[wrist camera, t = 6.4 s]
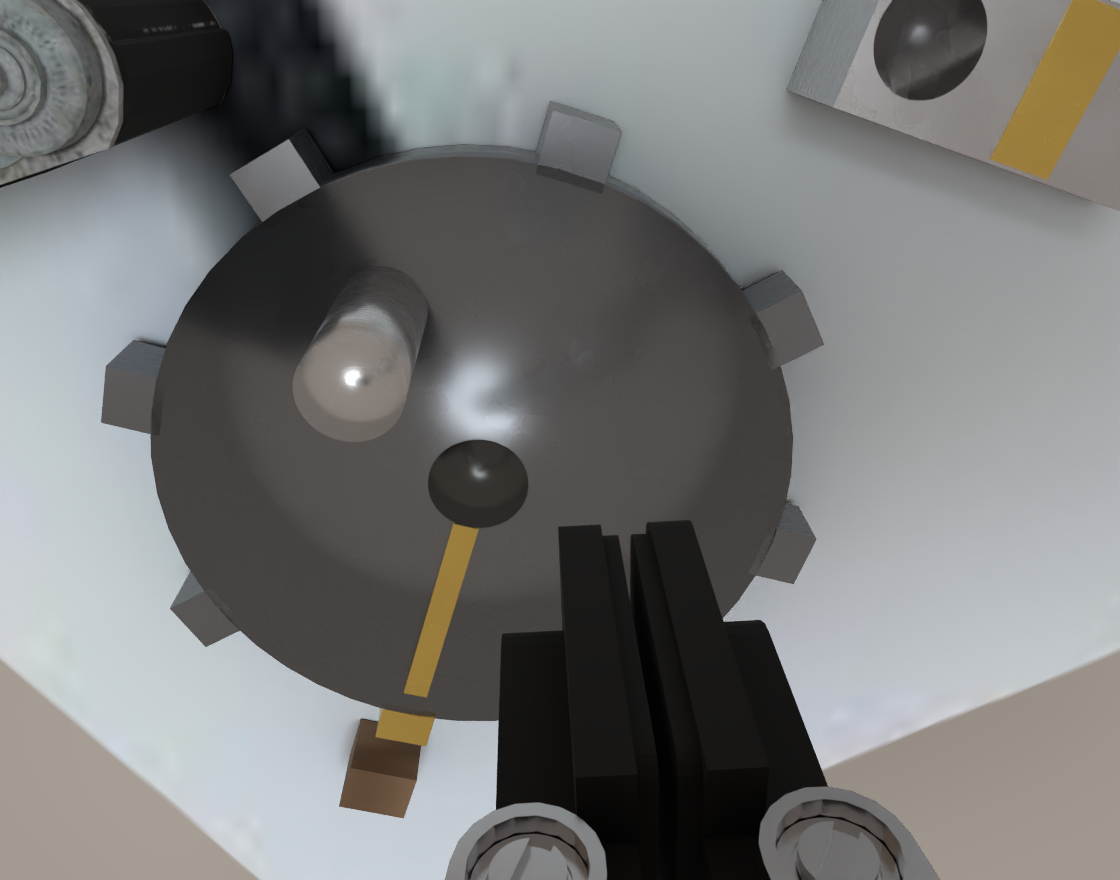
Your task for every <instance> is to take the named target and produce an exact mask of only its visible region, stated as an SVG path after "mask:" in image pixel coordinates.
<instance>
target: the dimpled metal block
mask: <svg viewBox="0 0 1120 880" xmlns="http://www.w3.org/2000/svg"><path fill="white" fill-rule="evenodd" d="M787 90H788V91H791V92H793V93H796V94H799V95H801V96H804V97H807V98H809V99H812V100H815V101H817V102H820V103H823V104H825V105H828V106H831V107H833V108H836V109H839V110H842V111H844V112H847V113H850V114H853V115H856V116H858V117H861V118H864V119H867V120H869V121H872V122H875V123H878V124H880V125H883V126H886V127H889V128H891V129H894V130H897V131H900V132H903V133H905V134H908V135H911V136H914V137H916V138H919V139H922V140H925V141H927V142H930V143H933V144H936V145H938V146H941V147H944V148H947V149H950V150H952V151H955V152H958V153H961V154H963V155H966V156H969V157H972V158H974V159H977V160H980V161H983V162H985V163H988V164H991V165H994V166H997V167H999V168H1002V169H1005V170H1008V171H1010V172H1013V173H1016V174H1019V175H1021V176H1024V177H1027V178H1030V179H1032V180H1035V181H1038V182H1041V183H1044V184H1046V185H1049V186H1052V187H1055V188H1057V189H1060V190H1063V191H1066V192H1068V193H1071V194H1074V195H1077V196H1079V197H1082V198H1085V199H1088V200H1091V201H1093V202H1096V203H1099V204H1102V205H1104V206H1107V207H1110V208H1113V209H1115V210H1118V211H1120V4H1117V3H1115V2H1113V1H1110V0H823V2H822V4H821V7H820V9H819V11H818V14H817V16H816V19H815V21H814V24H813V26H812V29H811V31H810V33H809V36H808V38H807V41H806V43H805V46H804V48H803V51H802V53H801V56H800V58H799V60H798V63H797V65H796V68H795V70H794V73H793V75H792V78H791V80H790V82H789V85H788V87H787Z"/></svg>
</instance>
